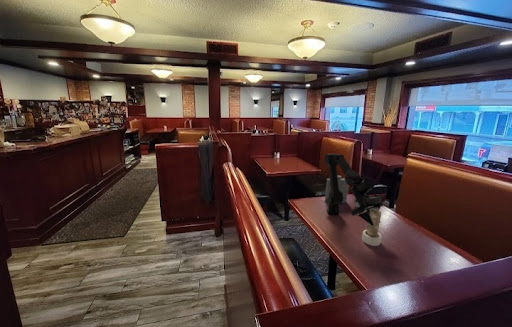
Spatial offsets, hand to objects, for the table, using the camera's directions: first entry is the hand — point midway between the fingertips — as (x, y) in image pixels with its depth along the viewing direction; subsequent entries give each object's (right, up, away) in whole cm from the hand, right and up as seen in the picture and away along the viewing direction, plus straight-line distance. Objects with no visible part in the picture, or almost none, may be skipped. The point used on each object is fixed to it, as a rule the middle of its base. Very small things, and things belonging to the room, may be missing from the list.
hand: (376, 224), depth 113 cm
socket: (-1, -10, +4) cm, 10 cm away
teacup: (+13, 0, +42) cm, 44 cm away
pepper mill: (-1, -7, +3) cm, 8 cm away
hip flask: (-3, +2, +50) cm, 50 cm away
